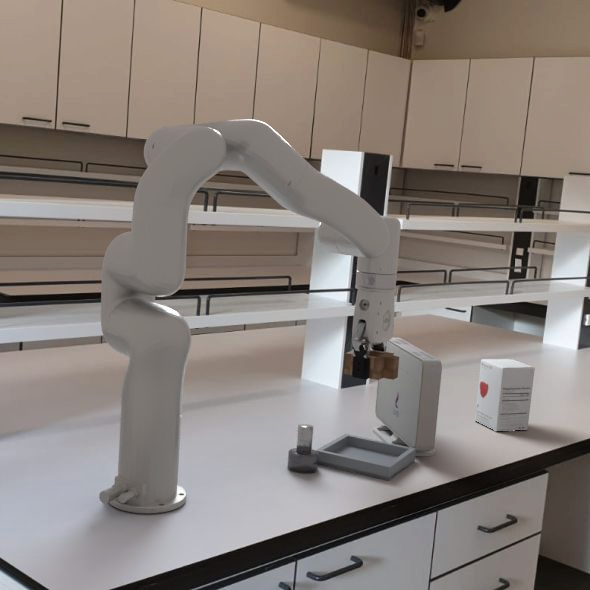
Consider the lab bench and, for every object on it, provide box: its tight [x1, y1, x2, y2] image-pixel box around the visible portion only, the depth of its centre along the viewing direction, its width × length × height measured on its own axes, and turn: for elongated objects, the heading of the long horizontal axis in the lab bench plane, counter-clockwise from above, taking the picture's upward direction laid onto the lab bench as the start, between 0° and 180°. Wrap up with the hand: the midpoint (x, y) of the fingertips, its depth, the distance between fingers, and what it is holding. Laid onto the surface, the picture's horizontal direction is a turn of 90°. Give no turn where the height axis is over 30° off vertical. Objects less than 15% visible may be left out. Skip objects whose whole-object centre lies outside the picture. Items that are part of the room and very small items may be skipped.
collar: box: [343, 349, 399, 381], centre depth 164 cm, size 9×7×4 cm
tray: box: [314, 433, 417, 481], centre depth 166 cm, size 14×15×2 cm
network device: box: [372, 337, 443, 457], centre depth 181 cm, size 26×9×20 cm, turn 13°
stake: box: [287, 423, 319, 474], centre depth 160 cm, size 6×6×8 cm
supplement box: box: [474, 358, 536, 432], centre depth 199 cm, size 9×9×15 cm
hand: (368, 374), depth 165 cm, fingers closed on collar, 7 cm apart
